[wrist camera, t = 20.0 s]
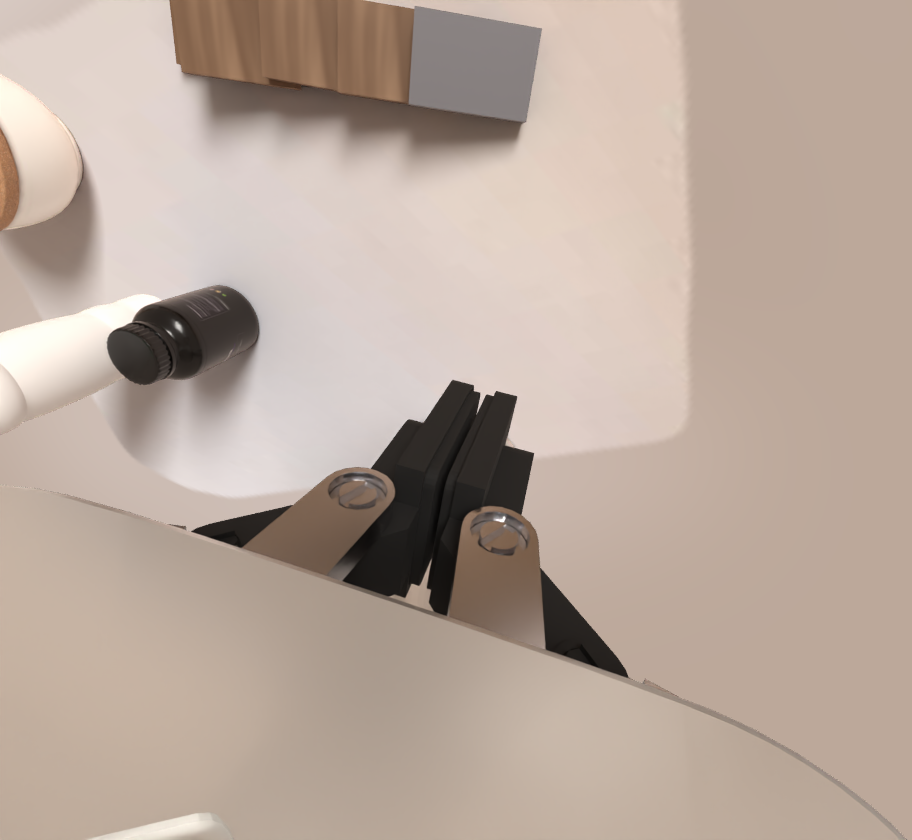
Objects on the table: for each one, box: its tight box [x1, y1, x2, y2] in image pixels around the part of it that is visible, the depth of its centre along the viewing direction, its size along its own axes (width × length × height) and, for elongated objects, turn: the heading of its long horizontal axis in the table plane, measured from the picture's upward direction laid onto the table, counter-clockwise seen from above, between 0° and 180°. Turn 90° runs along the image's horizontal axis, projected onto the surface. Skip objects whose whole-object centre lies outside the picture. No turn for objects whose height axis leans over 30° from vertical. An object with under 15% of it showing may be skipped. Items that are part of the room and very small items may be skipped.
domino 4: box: [409, 6, 542, 123], centre depth 31 cm, size 2×5×8 cm
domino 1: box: [172, 0, 301, 90], centre depth 33 cm, size 2×5×8 cm
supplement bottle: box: [106, 285, 258, 385], centre depth 42 cm, size 7×7×12 cm
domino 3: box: [338, 0, 414, 104], centre depth 32 cm, size 2×5×8 cm
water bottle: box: [0, 294, 162, 435], centre depth 39 cm, size 7×7×25 cm
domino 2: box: [259, 0, 338, 92], centre depth 32 cm, size 2×5×8 cm
